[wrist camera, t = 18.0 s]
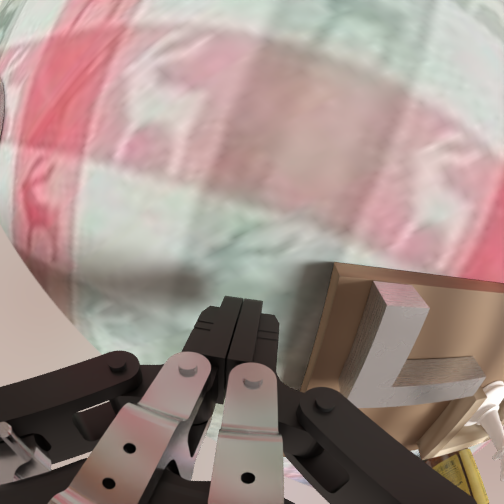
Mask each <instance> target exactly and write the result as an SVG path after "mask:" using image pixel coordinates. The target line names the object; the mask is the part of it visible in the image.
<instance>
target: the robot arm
mask: <svg viewBox="0 0 504 504" xmlns="http://www.w3.org/2000/svg"><path fill="white" fill-rule="evenodd" d="M3 116H4V89H3V83H2V81H1V78H0V136H1V131H2V124H3ZM243 301H244V302H243ZM262 304H263V301H259V300H252V299H244V300H243V298H237V297H230V296H225V297H224V299H223V302H222V304H221V306H220V307H214V306H209V307H208V308H207V309H205V310H204V311H202V312H201V314H200V316H199V318H198V320H197V322H196V324H195V326H194V329H193V330H192V332H191V334H190V336H189V338H188V340H187V342H186V344H185V346H184V348H183V350H182V352H180V353H177V354H174V355H173V356H171V357H170V358H169V359H168V360H167V361H166V363H165V364H162V365H140V364H139V360H138V359H137V357H136V356H135V355H133V354H132V353H129V352H126V351H113V352H109V353H106V354H104V355H101V356H98V357H95V358H92V359H89V360H86V361H83V362H80V363H77V364H75V365H71V366H68V367H65V368H62V369H59V370H56V371H53V372H50V373H46V374H44V375H40V376H37V377H34V378H30V379H27V380H23V381H20V382H17V383H13V384H10V385H6V386H2V387H0V504H295V503H293V502H291V501H289V500H287V499H285V498H284V473H283V452H284V455H285V456H286V458H287V459H288V460H289V461H290V462H291V463H292V464H293V466H294V467H295V468H296V469H297V470H298V471H299V472H300V473H301V474H302V476H303V477H304V478H305V479H306V480H307V481H308V482H309V483H310V484H311V485H312V486H313V487H314V488H315V489H316V490H317V491H318V492H319V493H320V494H321V495H322V496H323V497H324V498H325V499H326V500H327V501H328V502H329V503H330V504H477V502H476V500H475V499H474V498H473V497H472V496H470V495H469V494H467V493H466V492H464V491H463V490H462V489H460V488H459V487H457V486H456V485H454V484H453V483H452V482H450V481H449V480H448V479H446V478H445V477H443V476H442V475H441V474H439V473H438V472H437V471H435V470H434V469H433V468H431V467H430V466H429V465H427V464H426V463H425V462H424V461H422V460H421V459H420V458H418V457H417V456H416V455H414V454H413V453H412V452H411V451H409V450H408V449H407V448H406V447H404V446H403V445H402V444H401V443H399V442H398V441H397V440H396V439H394V438H393V437H392V436H391V435H389V434H388V433H387V432H386V431H385V430H383V429H382V428H381V427H380V426H379V425H377V424H376V423H375V422H374V421H373V420H371V419H370V418H369V417H368V416H367V415H365V414H364V413H363V412H362V411H361V410H360V409H358V408H357V407H356V406H355V405H354V404H353V403H351V402H350V401H349V400H348V399H347V398H346V397H344V396H343V395H342V394H341V393H340V392H338V391H336V390H334V389H332V388H328V387H315V388H312V389H309V390H308V391H306V392H305V393H303V392H300V391H297V390H294V389H292V388H290V387H288V386H286V385H285V384H284V383H282V382H281V381H280V379H279V378H278V376H277V373H276V363H277V349H278V335H279V322H278V320H277V319H276V317H275V315H270V314H262V313H261V312H262ZM224 399H225V405H224V412H223V418H222V425H221V429H220V430H219V434H218V440H217V446H216V453H215V459H214V465H213V472H212V479H211V481H191V478H192V474H193V469H194V464H195V461H196V458H197V455H198V453H199V451H200V448H201V445H202V443H203V440H204V438H205V436H206V433H207V431H208V428H209V426H210V423H211V420H212V414H213V411H214V408H215V404H216V403H218V404H223V403H224ZM108 400H109V402H107V403H104V404H102V405H99V406H96V407H94V408H91V409H88V410H86V411H83V412H78V411H80V410H84V409H86V408H89V407H92V406H95V405H97V404H100V403H102V402H105V401H108ZM90 451H92V453H91V454H90V455H89V457H88V458H85V459H82V460H79V461H76V462H74V463H71V464H68V465H65V466H63V467H60V468H57V469H54V470H51V464H55V463H58V462H61V461H64V460H67V459H70V458H73V457H76V456H79V455H82V454H85V453H87V452H90Z"/></svg>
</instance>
